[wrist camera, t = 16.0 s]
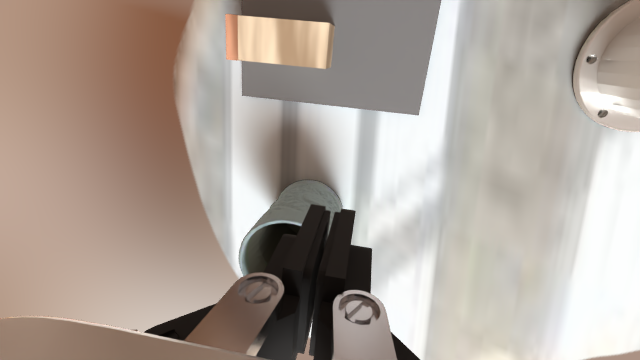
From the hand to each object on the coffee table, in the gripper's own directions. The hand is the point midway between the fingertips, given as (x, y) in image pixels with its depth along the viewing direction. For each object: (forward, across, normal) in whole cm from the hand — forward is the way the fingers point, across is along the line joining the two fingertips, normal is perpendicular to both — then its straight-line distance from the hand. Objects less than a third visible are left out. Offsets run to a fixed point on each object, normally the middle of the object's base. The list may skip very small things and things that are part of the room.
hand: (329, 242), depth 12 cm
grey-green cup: (+27, +5, +13) cm, 31 cm away
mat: (+27, +4, -7) cm, 28 cm away
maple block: (+24, +4, -7) cm, 25 cm away
